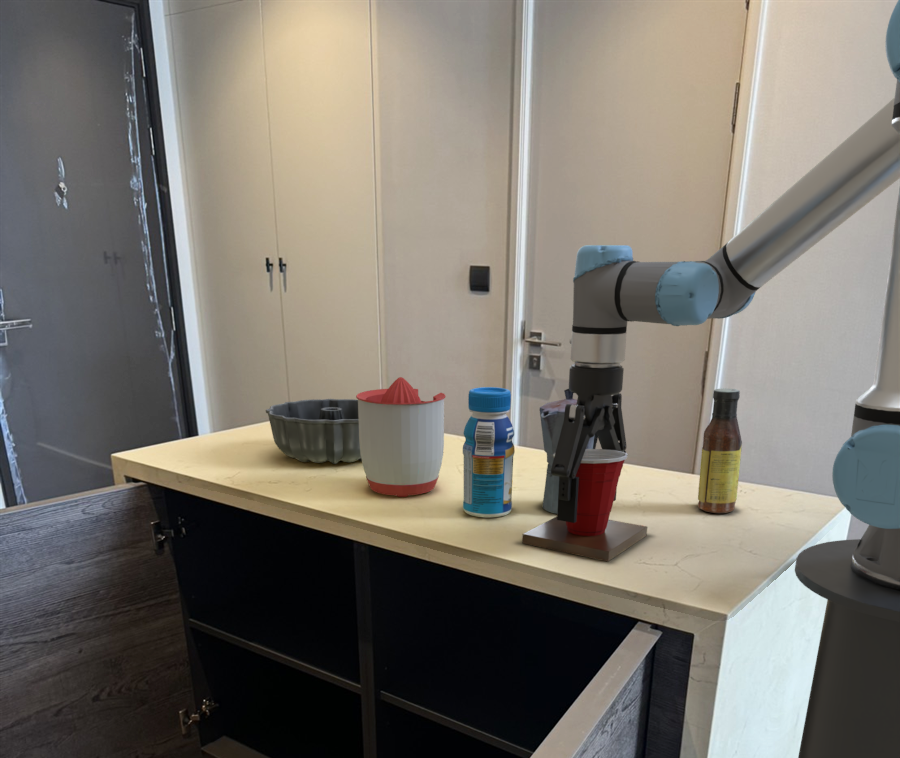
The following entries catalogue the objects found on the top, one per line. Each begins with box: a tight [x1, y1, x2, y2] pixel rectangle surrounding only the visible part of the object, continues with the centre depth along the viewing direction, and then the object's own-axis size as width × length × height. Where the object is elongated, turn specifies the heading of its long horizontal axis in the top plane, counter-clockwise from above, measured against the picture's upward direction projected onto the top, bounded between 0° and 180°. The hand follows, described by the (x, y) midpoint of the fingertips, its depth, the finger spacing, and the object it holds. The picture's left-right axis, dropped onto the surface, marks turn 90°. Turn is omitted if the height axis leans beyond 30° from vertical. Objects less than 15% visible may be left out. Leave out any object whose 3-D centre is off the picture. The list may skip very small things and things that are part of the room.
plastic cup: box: [553, 448, 629, 536], centre depth 128 cm, size 11×11×12 cm
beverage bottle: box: [462, 386, 515, 519], centre depth 140 cm, size 8×8×20 cm
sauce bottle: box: [697, 387, 743, 514], centre depth 142 cm, size 7×6×20 cm
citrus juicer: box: [355, 376, 446, 498], centre depth 154 cm, size 16×17×20 cm
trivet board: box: [521, 515, 648, 562], centre depth 131 cm, size 14×14×2 cm
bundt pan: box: [265, 398, 362, 465], centre depth 179 cm, size 26×26×10 cm
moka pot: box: [539, 388, 599, 515], centre depth 143 cm, size 10×15×20 cm, turn 137°
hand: (587, 509), depth 129 cm, fingers open, 13 cm apart
